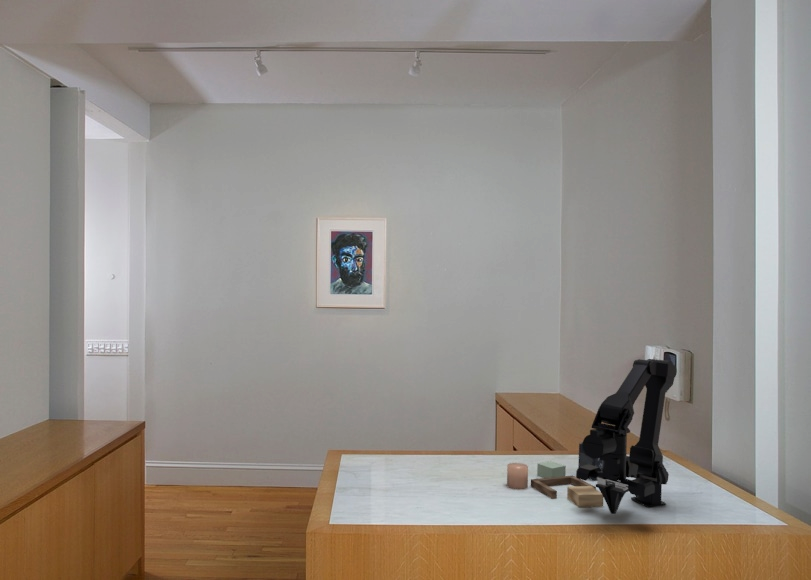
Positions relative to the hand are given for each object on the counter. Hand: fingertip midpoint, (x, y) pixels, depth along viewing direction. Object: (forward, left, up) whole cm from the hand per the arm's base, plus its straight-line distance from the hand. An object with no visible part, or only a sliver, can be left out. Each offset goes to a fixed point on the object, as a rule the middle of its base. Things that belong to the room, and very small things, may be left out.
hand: (613, 513), depth 145 cm
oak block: (+11, 0, -1) cm, 12 cm away
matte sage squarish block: (+33, -4, -1) cm, 34 cm away
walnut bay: (+22, 0, -1) cm, 22 cm away
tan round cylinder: (+28, +11, -1) cm, 31 cm away
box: (+30, -17, -1) cm, 35 cm away
